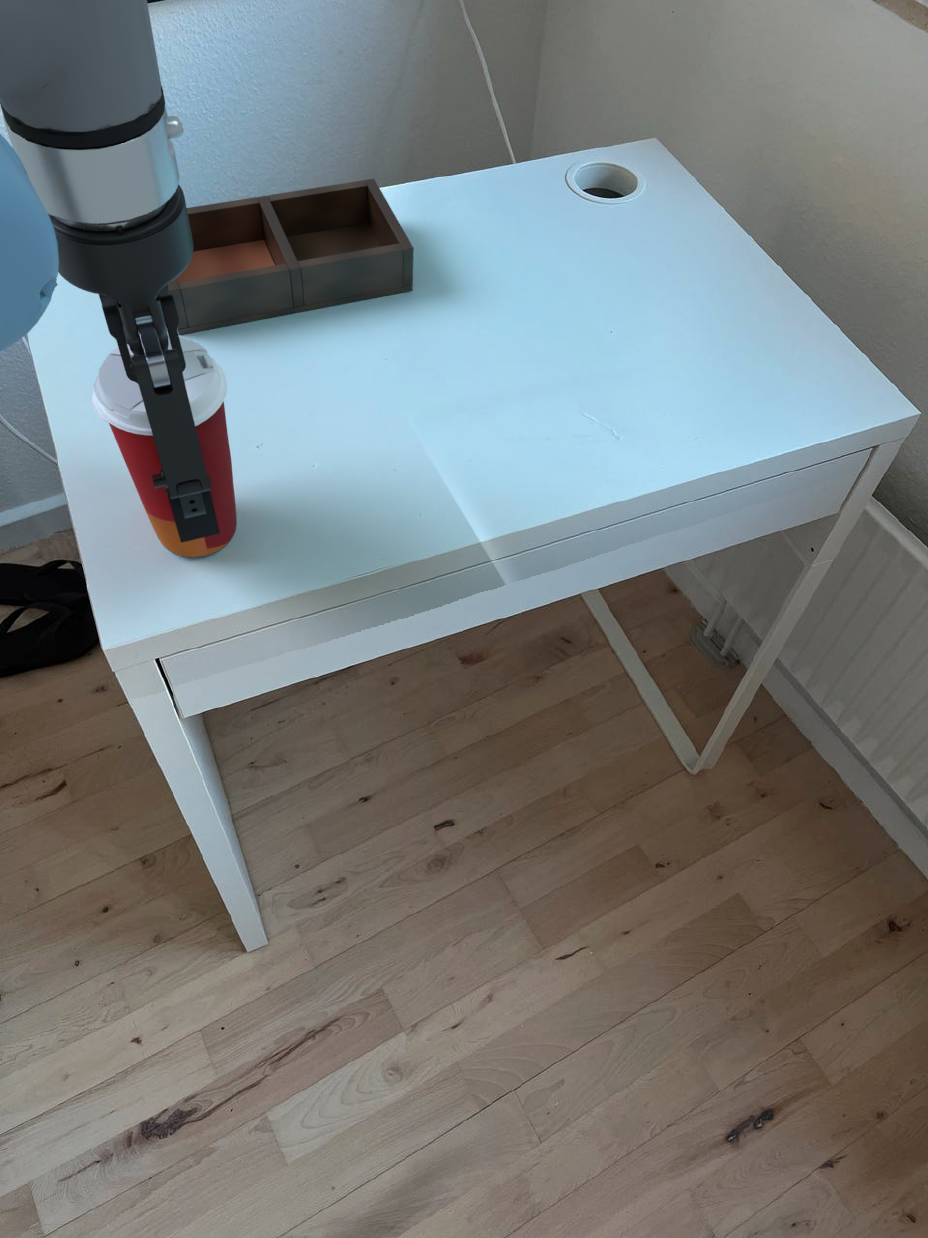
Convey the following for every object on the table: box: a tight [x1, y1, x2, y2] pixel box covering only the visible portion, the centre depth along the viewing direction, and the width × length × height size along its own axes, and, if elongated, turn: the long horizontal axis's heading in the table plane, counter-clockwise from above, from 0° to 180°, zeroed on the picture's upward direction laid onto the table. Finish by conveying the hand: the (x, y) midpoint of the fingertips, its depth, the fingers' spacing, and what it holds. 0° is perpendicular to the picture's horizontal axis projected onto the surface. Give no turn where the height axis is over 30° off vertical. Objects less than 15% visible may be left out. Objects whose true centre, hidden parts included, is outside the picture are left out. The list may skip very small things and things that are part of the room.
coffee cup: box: [90, 334, 238, 558], centre depth 65 cm, size 8×8×15 cm
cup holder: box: [168, 178, 414, 336], centre depth 87 cm, size 22×12×5 cm, turn 111°
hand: (186, 488), depth 67 cm, fingers closed on coffee cup, 8 cm apart
